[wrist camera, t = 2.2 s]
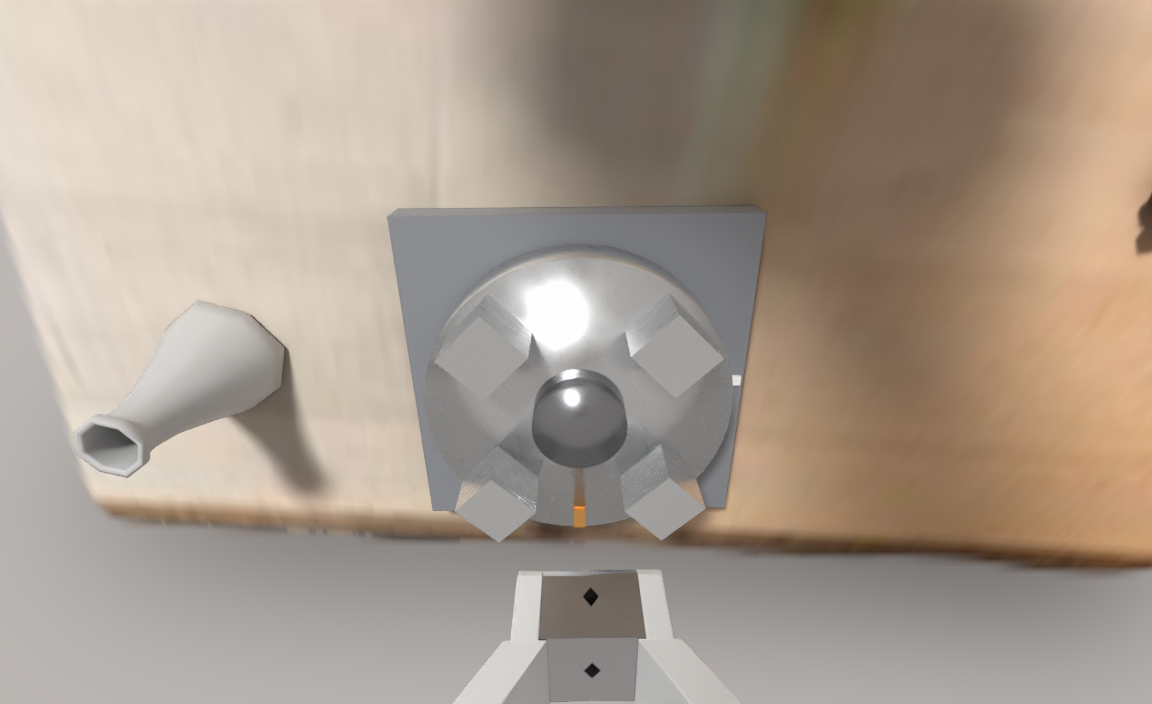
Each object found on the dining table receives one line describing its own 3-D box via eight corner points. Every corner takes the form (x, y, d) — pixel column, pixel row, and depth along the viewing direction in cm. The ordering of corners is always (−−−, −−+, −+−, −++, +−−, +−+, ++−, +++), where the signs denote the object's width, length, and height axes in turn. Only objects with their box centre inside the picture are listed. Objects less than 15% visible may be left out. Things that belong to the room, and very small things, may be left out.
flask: (152, 366, 35) (7, 464, 26) (190, 278, 32) (45, 352, 23) (261, 422, 37) (161, 531, 28) (306, 342, 34) (212, 434, 25)
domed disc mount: (418, 245, 29) (384, 280, 24) (736, 242, 29) (773, 277, 24) (451, 495, 37) (431, 565, 31) (705, 492, 37) (729, 562, 31)
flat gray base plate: (398, 208, 31) (386, 217, 29) (755, 205, 31) (768, 213, 29) (439, 491, 39) (432, 512, 37) (717, 488, 40) (725, 509, 38)
